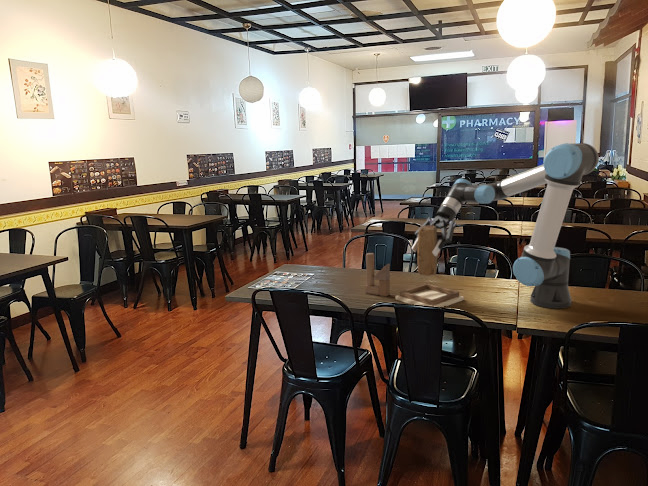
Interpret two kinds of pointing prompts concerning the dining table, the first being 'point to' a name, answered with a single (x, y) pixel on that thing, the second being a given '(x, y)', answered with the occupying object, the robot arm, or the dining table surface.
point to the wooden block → (382, 276)
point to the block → (427, 250)
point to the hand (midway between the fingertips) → (423, 252)
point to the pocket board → (429, 296)
